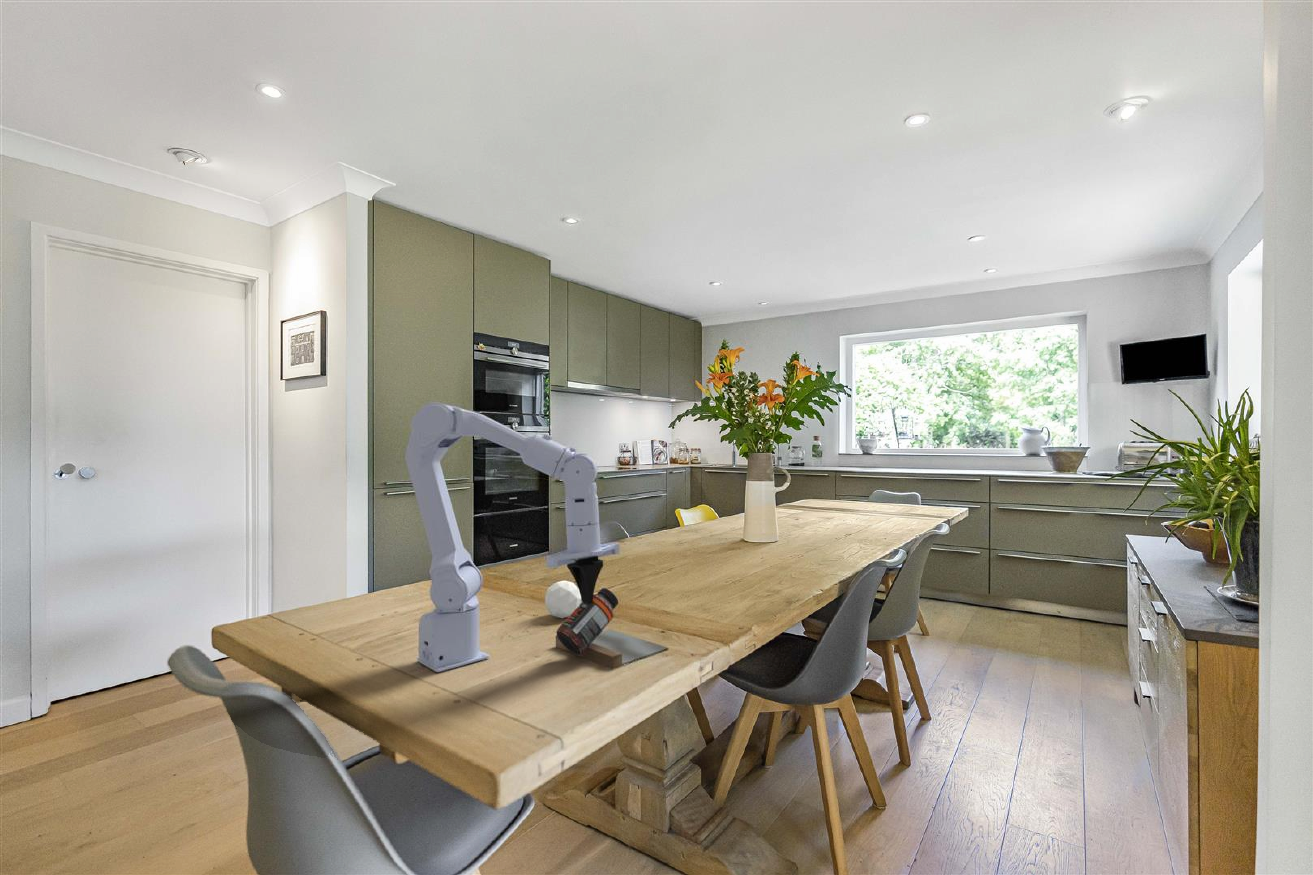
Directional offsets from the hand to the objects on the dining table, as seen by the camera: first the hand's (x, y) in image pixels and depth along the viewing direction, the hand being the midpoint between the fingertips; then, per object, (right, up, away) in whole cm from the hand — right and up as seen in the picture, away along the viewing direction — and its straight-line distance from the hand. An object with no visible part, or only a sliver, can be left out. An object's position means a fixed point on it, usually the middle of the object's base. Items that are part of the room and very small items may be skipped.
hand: (587, 602), depth 103 cm
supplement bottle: (-3, -6, -3) cm, 8 cm away
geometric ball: (-8, -10, +25) cm, 28 cm away
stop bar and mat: (+4, -9, +4) cm, 11 cm away
